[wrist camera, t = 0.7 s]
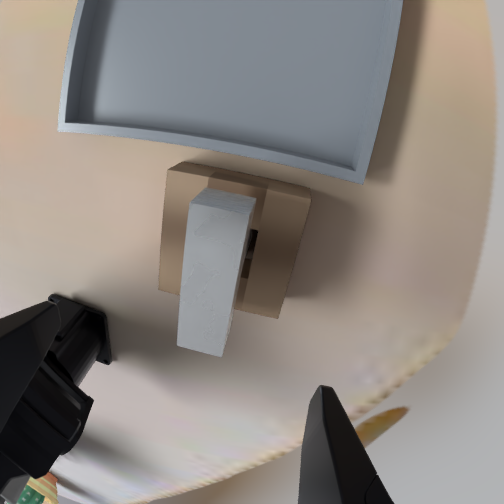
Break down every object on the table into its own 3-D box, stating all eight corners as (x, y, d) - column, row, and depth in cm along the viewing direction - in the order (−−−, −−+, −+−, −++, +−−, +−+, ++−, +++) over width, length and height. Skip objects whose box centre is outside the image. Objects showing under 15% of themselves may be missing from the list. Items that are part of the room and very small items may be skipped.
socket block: (280, 297, 23) (278, 318, 20) (170, 271, 23) (158, 289, 21) (309, 188, 19) (311, 199, 17) (182, 161, 19) (167, 169, 17)
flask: (32, 400, 37) (-26, 491, 19) (62, 422, 38) (9, 517, 20) (25, 423, 43) (-19, 495, 25) (49, 441, 44) (8, 515, 26)
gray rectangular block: (241, 288, 23) (221, 357, 16) (207, 280, 23) (176, 345, 17) (265, 177, 19) (249, 215, 13) (224, 169, 19) (189, 202, 13)
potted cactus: (14, 448, 56) (-21, 509, 34) (57, 473, 55) (24, 542, 33) (33, 470, 63) (4, 525, 41) (73, 492, 62) (46, 552, 40)
